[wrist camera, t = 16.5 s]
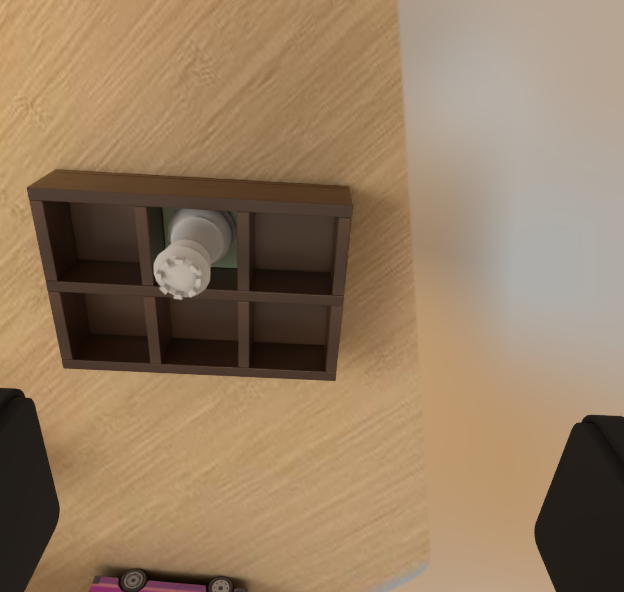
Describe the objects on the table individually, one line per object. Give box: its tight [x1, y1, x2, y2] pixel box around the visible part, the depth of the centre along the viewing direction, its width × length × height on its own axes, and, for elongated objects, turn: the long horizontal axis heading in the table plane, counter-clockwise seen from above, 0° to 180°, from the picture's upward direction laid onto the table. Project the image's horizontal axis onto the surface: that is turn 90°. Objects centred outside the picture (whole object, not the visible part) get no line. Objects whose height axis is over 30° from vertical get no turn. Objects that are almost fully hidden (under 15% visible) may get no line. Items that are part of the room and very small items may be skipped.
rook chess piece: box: [154, 208, 235, 300], centre depth 33 cm, size 4×4×8 cm
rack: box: [27, 170, 353, 381], centre depth 37 cm, size 13×20×4 cm
